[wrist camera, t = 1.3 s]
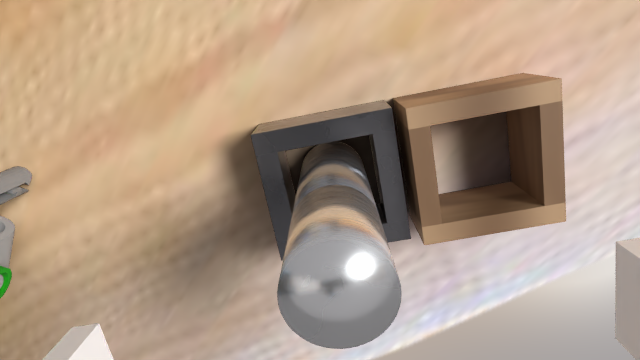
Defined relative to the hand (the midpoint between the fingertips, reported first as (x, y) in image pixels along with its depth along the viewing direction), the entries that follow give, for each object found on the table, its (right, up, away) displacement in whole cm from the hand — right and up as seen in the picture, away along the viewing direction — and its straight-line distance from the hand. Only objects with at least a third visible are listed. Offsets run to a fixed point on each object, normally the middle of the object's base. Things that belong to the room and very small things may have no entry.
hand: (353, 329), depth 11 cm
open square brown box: (+7, +6, +13) cm, 16 cm away
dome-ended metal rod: (0, +4, +14) cm, 15 cm away
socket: (0, +4, +14) cm, 15 cm away
